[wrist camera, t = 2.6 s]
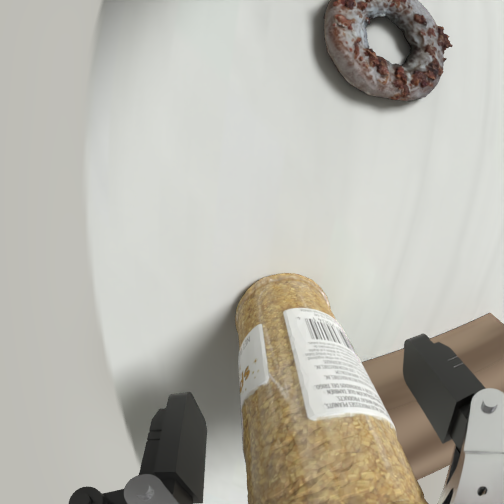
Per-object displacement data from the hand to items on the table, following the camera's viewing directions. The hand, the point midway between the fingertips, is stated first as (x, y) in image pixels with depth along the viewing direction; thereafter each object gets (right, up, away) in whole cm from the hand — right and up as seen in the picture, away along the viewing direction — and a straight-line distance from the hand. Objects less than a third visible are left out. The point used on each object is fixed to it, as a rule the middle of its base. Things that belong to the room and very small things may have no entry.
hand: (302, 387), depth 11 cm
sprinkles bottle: (0, +2, +5) cm, 5 cm away
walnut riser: (+10, -5, +8) cm, 13 cm away
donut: (+4, +15, +1) cm, 15 cm away
